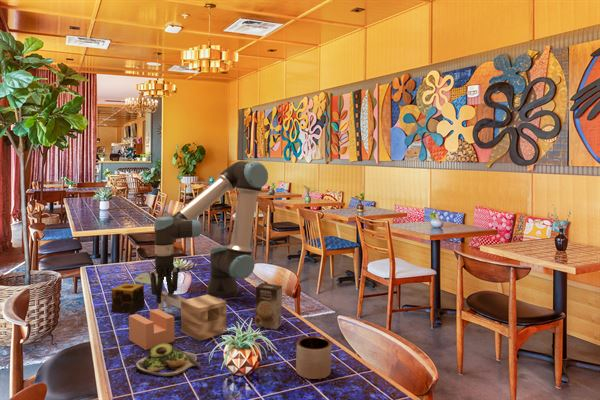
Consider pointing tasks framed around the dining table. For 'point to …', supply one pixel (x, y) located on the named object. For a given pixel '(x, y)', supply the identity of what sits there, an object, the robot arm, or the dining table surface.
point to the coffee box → (268, 306)
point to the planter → (313, 357)
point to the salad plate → (166, 360)
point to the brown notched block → (203, 317)
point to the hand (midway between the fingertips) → (164, 309)
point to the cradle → (151, 329)
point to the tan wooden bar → (172, 299)
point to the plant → (145, 277)
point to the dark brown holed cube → (127, 298)
